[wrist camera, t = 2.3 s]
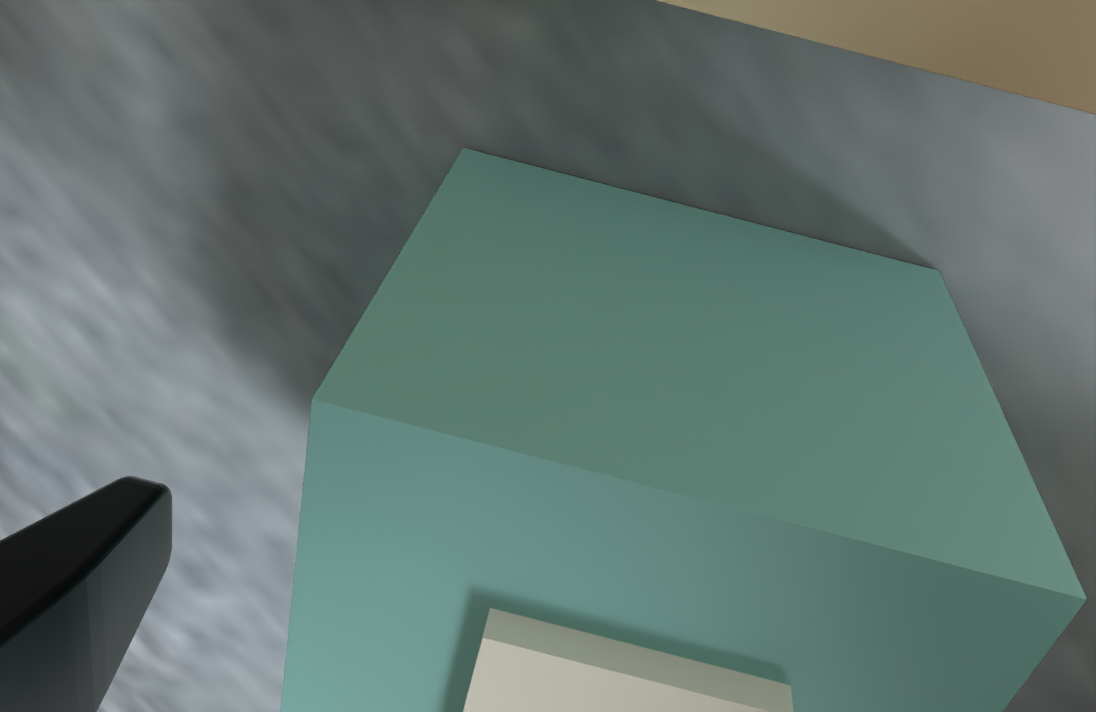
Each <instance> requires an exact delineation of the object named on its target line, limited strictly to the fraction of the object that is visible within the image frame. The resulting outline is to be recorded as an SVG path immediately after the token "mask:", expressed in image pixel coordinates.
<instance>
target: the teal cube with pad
mask: <svg viewBox="0 0 1096 712" xmlns="http://www.w3.org/2000/svg"><path fill="white" fill-rule="evenodd" d="M1086 600H1087V598H1086V595H1085V593H1084V591H1083V589H1082V587H1081V584H1080V582H1079V580H1078V578H1077V575H1076V573H1075V571H1074V569H1073V567H1072V564H1071V562H1070V560H1069V558H1068V555H1067V553H1066V551H1065V549H1064V547H1063V544H1062V542H1061V540H1060V538H1059V536H1058V533H1057V531H1056V529H1055V527H1054V524H1053V522H1052V520H1051V518H1050V516H1049V513H1048V511H1047V509H1046V507H1045V504H1044V502H1043V500H1042V498H1041V496H1040V493H1039V491H1038V489H1037V487H1036V484H1035V482H1034V480H1033V478H1032V476H1031V473H1030V471H1029V469H1028V467H1027V464H1026V462H1025V460H1024V458H1023V456H1022V453H1021V451H1020V449H1019V447H1018V444H1017V442H1016V440H1015V438H1014V436H1013V433H1012V431H1011V429H1010V427H1009V424H1008V422H1007V420H1006V418H1005V416H1004V413H1003V411H1002V409H1001V407H1000V404H999V402H998V400H997V398H996V396H995V393H994V391H993V389H992V387H991V384H990V382H989V380H988V378H987V376H986V373H985V371H984V369H983V367H982V364H981V362H980V360H979V358H978V356H977V353H976V351H975V349H974V347H973V344H972V342H971V340H970V338H969V336H968V333H967V331H966V329H965V327H964V324H963V322H962V320H961V318H960V316H959V313H958V311H957V309H956V307H955V304H954V302H953V300H952V298H951V296H950V293H949V291H948V289H947V287H946V285H945V282H944V280H943V278H942V276H941V273H940V271H938V270H934V269H930V268H926V267H922V266H919V265H915V264H911V263H907V262H903V261H899V260H895V259H892V258H888V257H884V256H880V255H876V254H872V253H868V252H864V251H861V250H857V249H853V248H849V247H845V246H841V245H837V244H834V243H830V242H826V241H822V240H818V239H814V238H810V237H806V236H803V235H799V234H795V233H791V232H787V231H783V230H779V229H776V228H772V227H768V226H764V225H760V224H756V223H752V222H749V221H745V220H741V219H737V218H733V217H729V216H725V215H721V214H718V213H714V212H710V211H706V210H702V209H698V208H694V207H691V206H687V205H683V204H679V203H675V202H671V201H667V200H663V199H660V198H656V197H652V196H648V195H644V194H640V193H636V192H633V191H629V190H625V189H621V188H617V187H613V186H609V185H605V184H602V183H598V182H594V181H590V180H586V179H582V178H578V177H575V176H571V175H567V174H563V173H559V172H555V171H551V170H548V169H544V168H540V167H536V166H532V165H528V164H524V163H520V162H517V161H513V160H509V159H505V158H501V157H497V156H493V155H490V154H486V153H482V152H478V151H474V150H470V149H466V148H463V149H462V150H461V152H460V154H459V155H458V157H457V159H456V160H455V162H454V164H453V165H452V167H451V169H450V170H449V172H448V174H447V175H446V177H445V179H444V180H443V182H442V184H441V185H440V187H439V189H438V190H437V192H436V194H435V195H434V197H433V199H432V200H431V202H430V204H429V205H428V207H427V209H426V210H425V212H424V214H423V215H422V217H421V219H420V220H419V222H418V224H417V225H416V227H415V229H414V230H413V232H412V234H411V235H410V237H409V239H408V240H407V242H406V243H405V245H404V247H403V248H402V250H401V252H400V253H399V255H398V257H397V258H396V260H395V262H394V263H393V265H392V267H391V268H390V270H389V272H388V273H387V275H386V277H385V278H384V280H383V282H382V283H381V285H380V287H379V288H378V290H377V292H376V293H375V295H374V297H373V298H372V300H371V302H370V303H369V305H368V307H367V308H366V310H365V312H364V313H363V315H362V317H361V318H360V320H359V322H358V323H357V325H356V327H355V328H354V330H353V332H352V333H351V335H350V337H349V338H348V340H347V342H346V343H345V345H344V347H343V348H342V350H341V352H340V353H339V355H338V357H337V358H336V360H335V362H334V363H333V365H332V367H331V368H330V370H329V372H328V373H327V375H326V377H325V378H324V380H323V382H322V383H321V385H320V387H319V388H318V390H317V392H316V393H315V395H314V397H313V398H312V403H311V413H310V423H309V433H308V443H307V453H306V462H305V472H304V482H303V492H302V502H301V512H300V522H299V532H298V542H297V552H296V561H295V571H294V581H293V591H292V601H291V611H290V621H289V631H288V641H287V650H286V660H285V670H284V680H283V690H282V700H281V710H280V712H1003V711H1004V709H1005V708H1006V707H1007V705H1008V704H1009V703H1010V701H1011V700H1012V699H1013V697H1014V696H1015V695H1016V693H1017V692H1018V691H1019V689H1020V688H1021V687H1022V685H1023V684H1024V683H1025V681H1026V680H1027V679H1028V677H1029V676H1030V675H1031V673H1032V672H1033V671H1034V669H1035V668H1036V667H1037V665H1038V664H1039V663H1040V661H1041V660H1042V659H1043V658H1044V656H1045V655H1046V654H1047V652H1048V651H1049V650H1050V648H1051V647H1052V646H1053V644H1054V643H1055V642H1056V640H1057V639H1058V638H1059V636H1060V635H1061V634H1062V632H1063V631H1064V630H1065V628H1066V627H1067V626H1068V624H1069V623H1070V622H1071V620H1072V619H1073V618H1074V616H1075V615H1076V614H1077V612H1078V611H1079V610H1080V608H1081V607H1082V606H1083V604H1084V603H1085V602H1086Z"/></svg>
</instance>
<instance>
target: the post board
mask: <svg viewBox="0 0 1096 712" xmlns="http://www.w3.org/2000/svg"><path fill="white" fill-rule="evenodd" d="M656 1H660V2H664V3H668V4H672V5H675V6H679V7H683V8H687V9H691V10H695V11H699V12H702V13H706V14H710V15H714V16H718V17H722V18H726V19H729V20H733V21H737V22H741V23H745V24H749V25H753V26H756V27H760V28H764V29H768V30H772V31H776V32H780V33H783V34H787V35H791V36H795V37H799V38H803V39H807V40H810V41H814V42H818V43H822V44H826V45H830V46H834V47H838V48H841V49H845V50H849V51H853V52H857V53H861V54H865V55H868V56H872V57H876V58H880V59H884V60H888V61H892V62H895V63H899V64H903V65H907V66H911V67H915V68H919V69H922V70H926V71H930V72H934V73H938V74H942V75H946V76H949V77H953V78H957V79H961V80H965V81H969V82H973V83H976V84H980V85H984V86H988V87H992V88H996V89H1000V90H1004V91H1007V92H1011V93H1015V94H1019V95H1023V96H1027V97H1031V98H1034V99H1038V100H1042V101H1046V102H1050V103H1054V104H1058V105H1061V106H1065V107H1069V108H1073V109H1077V110H1081V111H1085V112H1088V113H1092V114H1096V0H656Z"/></svg>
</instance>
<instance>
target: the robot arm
mask: <svg viewBox="0 0 1096 712" xmlns="http://www.w3.org/2000/svg"><path fill="white" fill-rule="evenodd" d="M171 550H172V495H171V491H170V489H169V488H168V487H167V486H166V485H164V484H161V483H157V482H153V481H149V480H146V479H142V478H138V477H134V476H127V477H123V478H120V479H118V480H116V481H114V482H112V483H110V484H108V485H106V486H104V487H102V488H100V489H98V490H96V491H95V492H93V493H91V494H89V495H87V496H85V497H83V498H81V499H79V500H77V501H75V502H73V503H72V504H70V505H68V506H66V507H64V508H62V509H60V510H58V511H56V512H54V513H52V514H50V515H48V516H47V517H45V518H43V519H41V520H39V521H37V522H35V523H33V524H31V525H29V526H27V527H25V528H23V529H22V530H20V531H18V532H16V533H14V534H12V535H10V536H8V537H6V538H4V539H2V540H0V712H97V710H98V708H99V706H100V704H101V702H102V700H103V698H104V696H105V694H106V692H107V690H108V688H109V686H110V684H111V682H112V680H113V678H114V676H115V674H116V672H117V670H118V668H119V665H120V663H121V661H122V659H123V657H124V655H125V653H126V651H127V649H128V647H129V645H130V643H131V641H132V639H133V637H134V635H135V633H136V631H137V629H138V626H139V624H140V622H141V620H142V618H143V616H144V614H145V612H146V610H147V608H148V606H149V604H150V602H151V600H152V598H153V596H154V594H155V592H156V589H157V587H158V585H159V583H160V581H161V579H162V577H163V575H164V573H165V571H166V568H167V566H168V563H169V559H170V556H171Z"/></svg>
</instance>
